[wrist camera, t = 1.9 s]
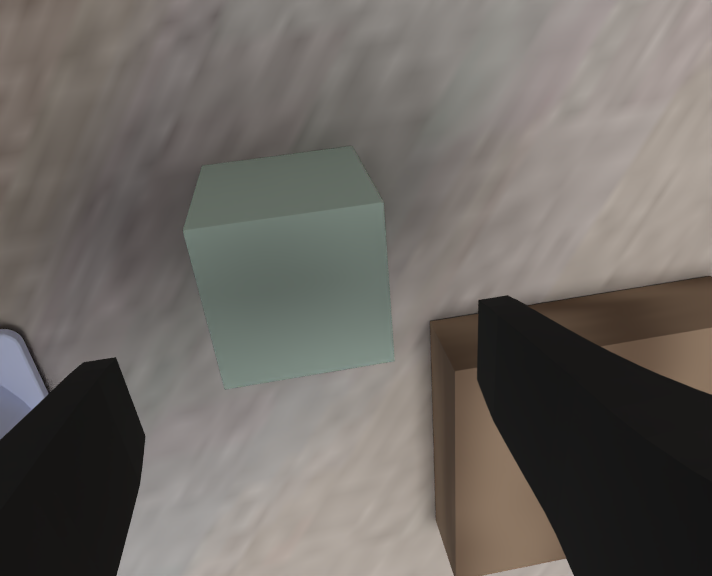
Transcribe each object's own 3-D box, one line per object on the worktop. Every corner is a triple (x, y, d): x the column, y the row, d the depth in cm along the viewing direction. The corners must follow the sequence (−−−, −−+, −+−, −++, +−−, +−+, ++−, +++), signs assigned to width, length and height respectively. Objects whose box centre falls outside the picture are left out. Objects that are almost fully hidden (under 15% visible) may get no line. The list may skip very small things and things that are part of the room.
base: (435, 520, 26) (455, 580, 23) (430, 321, 20) (455, 371, 18) (659, 477, 27) (702, 530, 24) (710, 276, 21) (772, 317, 19)
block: (232, 295, 19) (224, 389, 15) (202, 164, 17) (182, 230, 12) (363, 275, 19) (394, 361, 15) (351, 145, 17) (383, 202, 13)
